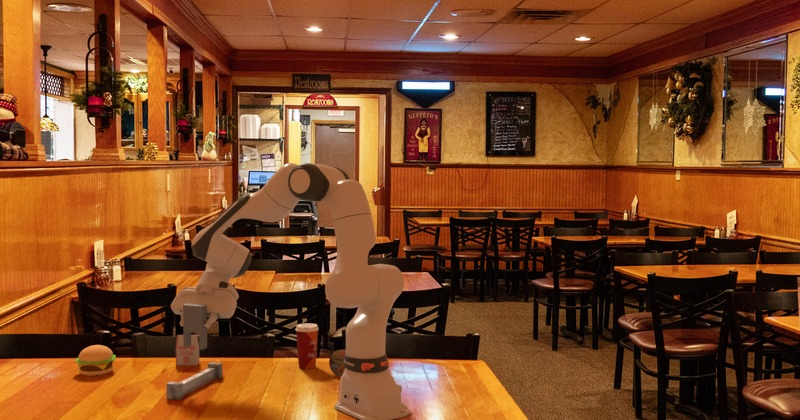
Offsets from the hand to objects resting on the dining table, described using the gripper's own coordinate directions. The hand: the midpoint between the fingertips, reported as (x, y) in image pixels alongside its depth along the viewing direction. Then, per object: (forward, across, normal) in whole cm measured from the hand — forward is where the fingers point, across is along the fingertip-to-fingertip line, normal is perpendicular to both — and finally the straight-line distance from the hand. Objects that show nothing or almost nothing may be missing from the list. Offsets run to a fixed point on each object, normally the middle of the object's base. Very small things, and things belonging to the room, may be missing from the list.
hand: (194, 326), depth 222 cm
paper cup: (-9, +23, +35) cm, 43 cm away
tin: (-5, +41, +31) cm, 51 cm away
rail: (+13, 0, +14) cm, 19 cm away
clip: (+4, 0, +5) cm, 7 cm away
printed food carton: (-2, -16, +29) cm, 34 cm away
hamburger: (+10, -40, +17) cm, 44 cm away
